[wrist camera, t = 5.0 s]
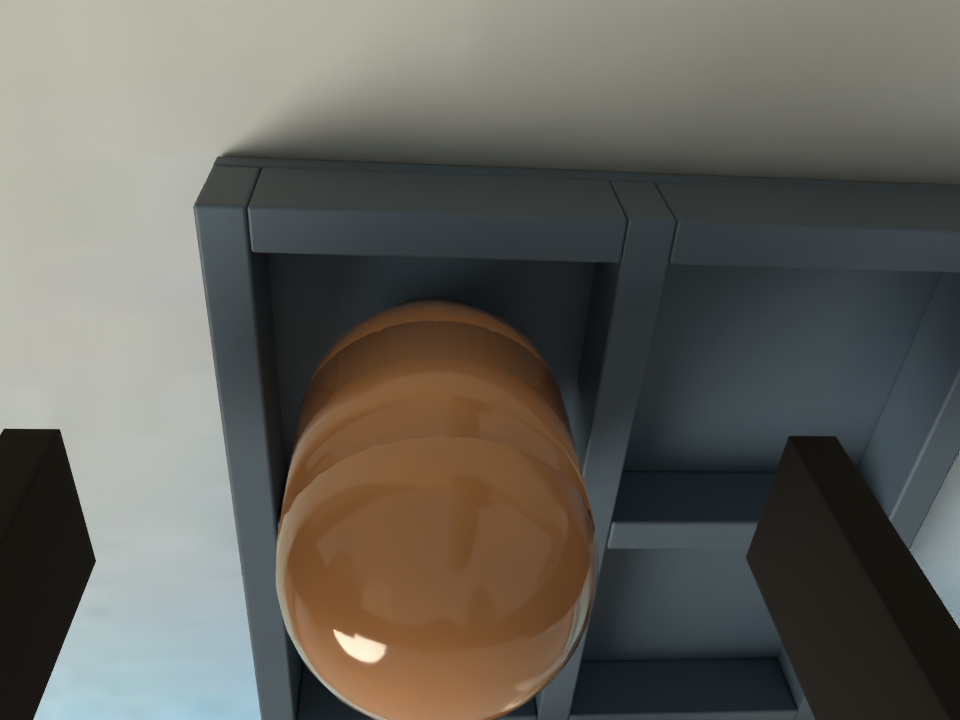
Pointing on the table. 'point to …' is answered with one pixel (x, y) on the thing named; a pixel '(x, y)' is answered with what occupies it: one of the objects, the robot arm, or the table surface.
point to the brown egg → (435, 519)
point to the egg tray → (607, 379)
